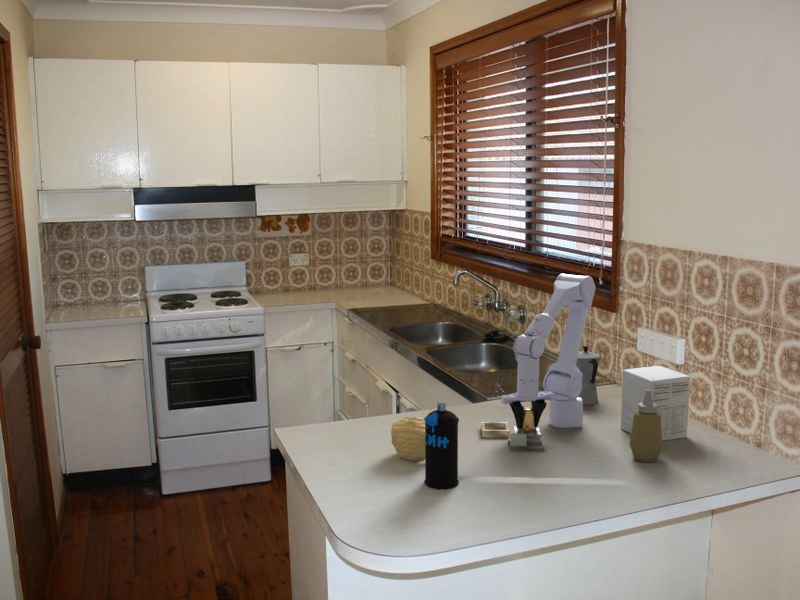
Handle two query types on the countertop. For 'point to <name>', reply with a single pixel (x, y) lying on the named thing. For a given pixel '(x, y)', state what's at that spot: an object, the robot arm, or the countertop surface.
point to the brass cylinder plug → (528, 420)
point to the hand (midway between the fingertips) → (527, 427)
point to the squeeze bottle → (646, 431)
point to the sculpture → (409, 438)
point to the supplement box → (657, 398)
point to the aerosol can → (441, 448)
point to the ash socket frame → (495, 429)
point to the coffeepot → (588, 375)
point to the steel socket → (529, 436)
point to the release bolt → (518, 440)
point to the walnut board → (527, 448)
